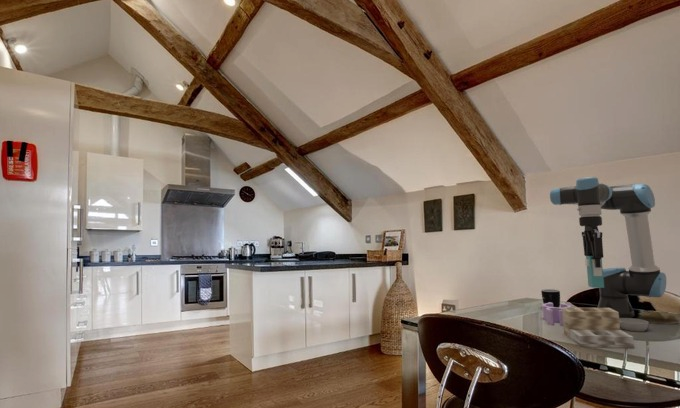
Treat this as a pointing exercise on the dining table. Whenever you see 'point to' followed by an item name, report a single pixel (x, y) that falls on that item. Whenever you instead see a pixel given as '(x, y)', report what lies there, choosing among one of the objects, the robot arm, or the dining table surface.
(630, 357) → the dining table surface
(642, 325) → the saucepan
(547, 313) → the clip
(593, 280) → the plug
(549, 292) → the mug
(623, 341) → the socket block
